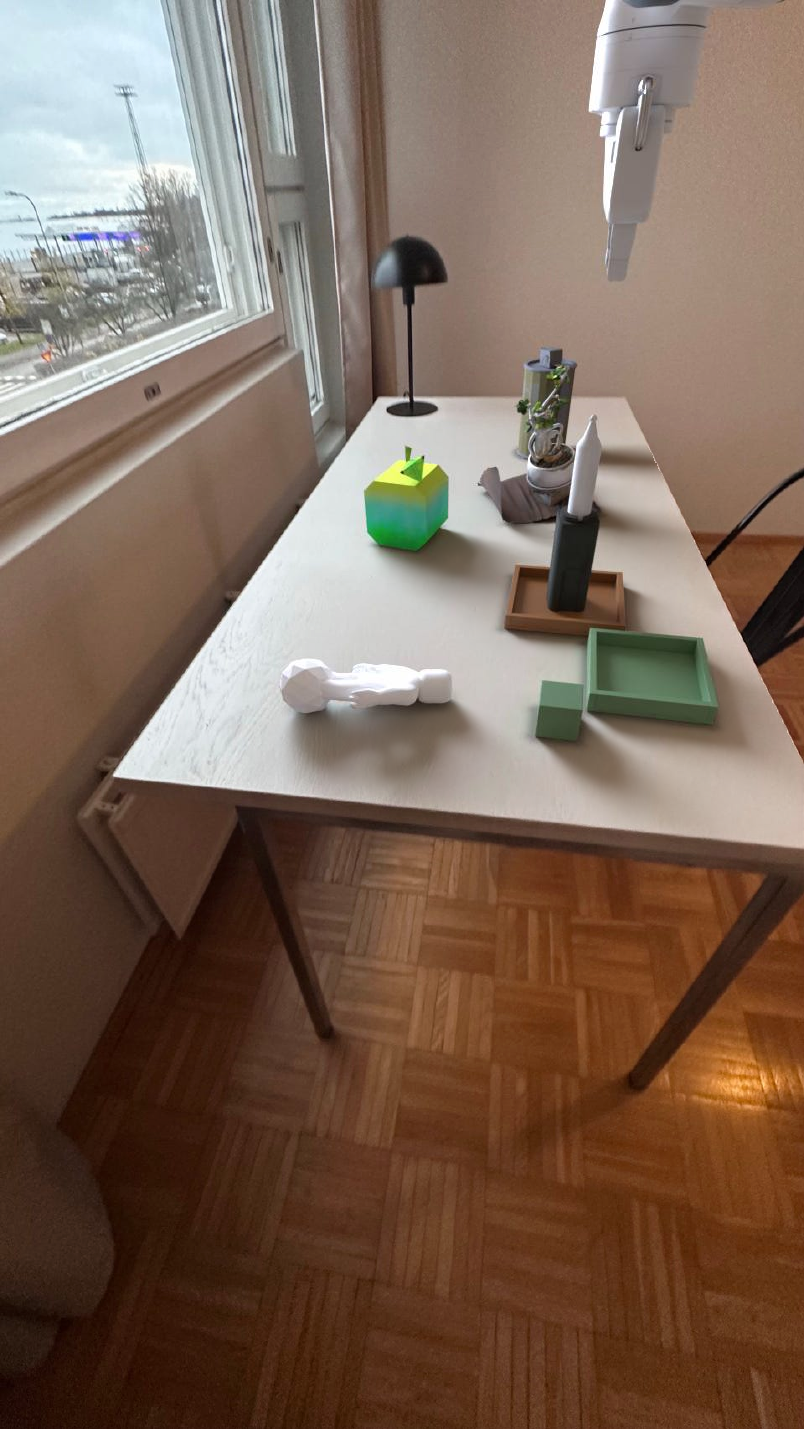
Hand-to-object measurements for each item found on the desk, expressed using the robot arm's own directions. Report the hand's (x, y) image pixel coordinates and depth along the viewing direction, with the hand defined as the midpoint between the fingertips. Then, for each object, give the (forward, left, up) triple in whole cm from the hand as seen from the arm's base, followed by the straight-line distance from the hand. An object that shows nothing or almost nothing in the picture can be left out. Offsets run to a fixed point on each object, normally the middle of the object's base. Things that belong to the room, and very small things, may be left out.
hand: (614, 274), depth 64 cm
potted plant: (+7, -36, -39) cm, 54 cm away
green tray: (-10, +16, -39) cm, 43 cm away
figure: (+22, +26, -39) cm, 52 cm away
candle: (0, 0, -39) cm, 39 cm away
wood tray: (0, 0, -39) cm, 39 cm away
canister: (+7, -63, -39) cm, 75 cm away
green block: (0, +26, -39) cm, 47 cm away
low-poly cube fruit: (+27, -19, -39) cm, 51 cm away
